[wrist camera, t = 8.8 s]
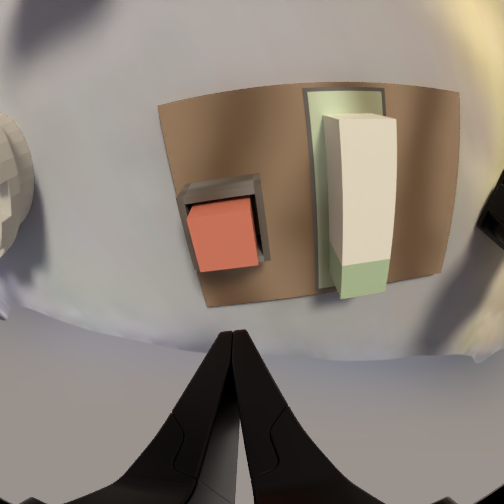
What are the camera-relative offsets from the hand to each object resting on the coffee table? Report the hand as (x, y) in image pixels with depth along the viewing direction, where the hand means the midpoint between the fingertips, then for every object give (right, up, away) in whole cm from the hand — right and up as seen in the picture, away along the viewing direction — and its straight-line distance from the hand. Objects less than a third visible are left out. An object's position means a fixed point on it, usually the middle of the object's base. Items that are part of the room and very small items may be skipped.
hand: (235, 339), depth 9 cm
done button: (-1, +4, +8) cm, 9 cm away
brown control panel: (+6, +7, +10) cm, 13 cm away
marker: (+7, +6, +9) cm, 13 cm away
